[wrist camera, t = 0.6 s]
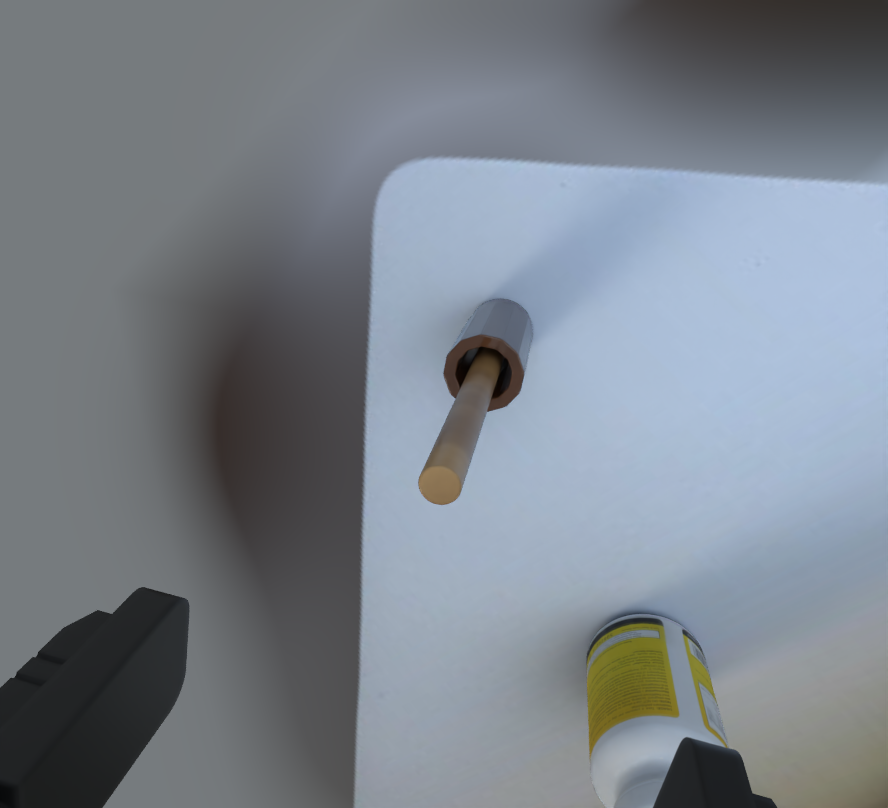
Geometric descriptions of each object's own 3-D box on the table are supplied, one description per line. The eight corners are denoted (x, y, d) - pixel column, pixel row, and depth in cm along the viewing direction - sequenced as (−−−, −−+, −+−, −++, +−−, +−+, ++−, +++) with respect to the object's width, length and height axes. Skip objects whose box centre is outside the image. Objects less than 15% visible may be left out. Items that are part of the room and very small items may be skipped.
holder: (459, 309, 34) (433, 348, 28) (521, 289, 33) (509, 325, 27) (480, 368, 35) (459, 419, 29) (541, 351, 34) (533, 399, 28)
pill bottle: (562, 650, 40) (558, 835, 30) (645, 587, 38) (674, 763, 27) (642, 718, 41) (667, 922, 30) (729, 660, 39) (789, 859, 28)
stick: (483, 326, 33) (411, 472, 19) (506, 319, 33) (453, 461, 18) (490, 349, 34) (426, 510, 19) (514, 342, 33) (467, 500, 19)
